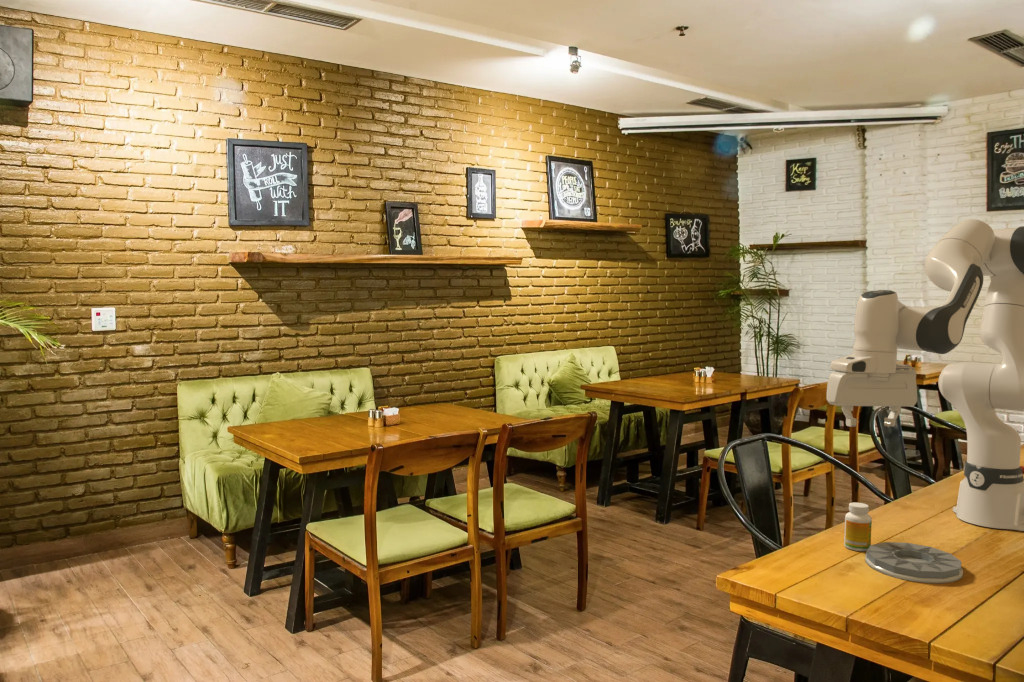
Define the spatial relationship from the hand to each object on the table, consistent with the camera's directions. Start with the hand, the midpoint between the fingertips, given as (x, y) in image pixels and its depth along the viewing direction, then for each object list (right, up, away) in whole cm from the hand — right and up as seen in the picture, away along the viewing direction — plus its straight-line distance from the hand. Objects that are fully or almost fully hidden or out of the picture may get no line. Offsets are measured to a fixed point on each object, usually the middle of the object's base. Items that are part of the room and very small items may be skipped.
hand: (870, 426), depth 172 cm
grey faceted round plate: (+4, -28, -11) cm, 30 cm away
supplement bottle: (-3, -27, 0) cm, 27 cm away
